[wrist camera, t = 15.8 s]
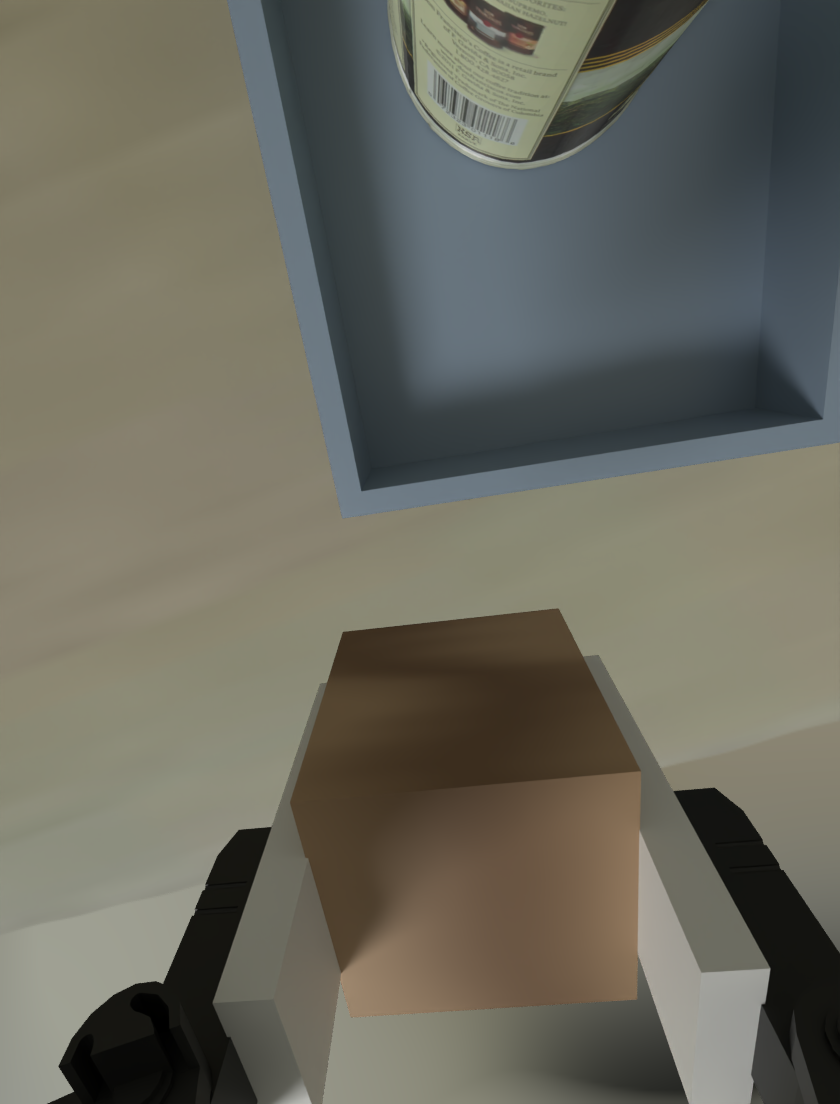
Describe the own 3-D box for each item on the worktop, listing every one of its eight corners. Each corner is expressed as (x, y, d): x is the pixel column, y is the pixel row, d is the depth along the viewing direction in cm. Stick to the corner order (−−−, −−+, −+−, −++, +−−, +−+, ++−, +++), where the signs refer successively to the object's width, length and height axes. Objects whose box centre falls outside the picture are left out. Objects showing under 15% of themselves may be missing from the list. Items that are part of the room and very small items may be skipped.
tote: (356, 488, 26) (342, 518, 22) (198, -275, 17) (114, -508, 13) (768, 424, 25) (846, 441, 20) (830, -438, 16) (997, -764, 11)
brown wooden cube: (376, 795, 14) (350, 1017, 9) (342, 631, 12) (289, 802, 8) (566, 779, 14) (636, 999, 9) (558, 608, 12) (640, 771, 7)
